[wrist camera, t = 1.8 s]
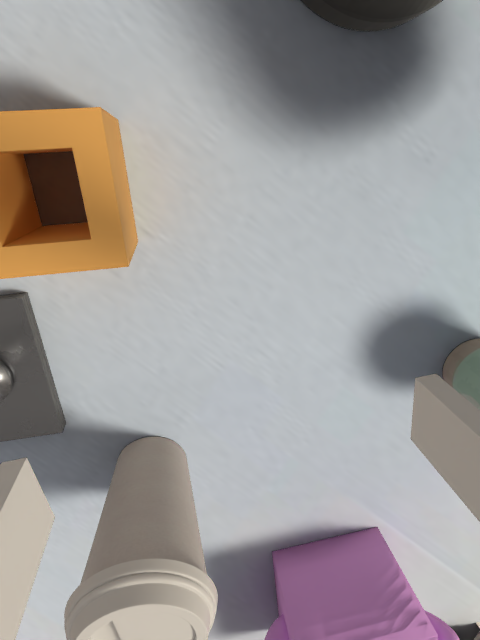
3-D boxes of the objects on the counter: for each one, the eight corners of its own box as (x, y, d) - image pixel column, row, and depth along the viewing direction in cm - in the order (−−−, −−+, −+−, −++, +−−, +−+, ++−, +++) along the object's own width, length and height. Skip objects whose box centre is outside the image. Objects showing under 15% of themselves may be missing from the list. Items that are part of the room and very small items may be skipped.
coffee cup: (106, 417, 34) (63, 595, 20) (212, 428, 36) (238, 594, 22) (93, 498, 37) (48, 699, 23) (191, 503, 39) (202, 688, 26)
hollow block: (-13, 126, 24) (-80, 114, 18) (118, 120, 25) (100, 107, 19) (23, 252, 27) (-22, 281, 21) (138, 241, 28) (128, 266, 22)
